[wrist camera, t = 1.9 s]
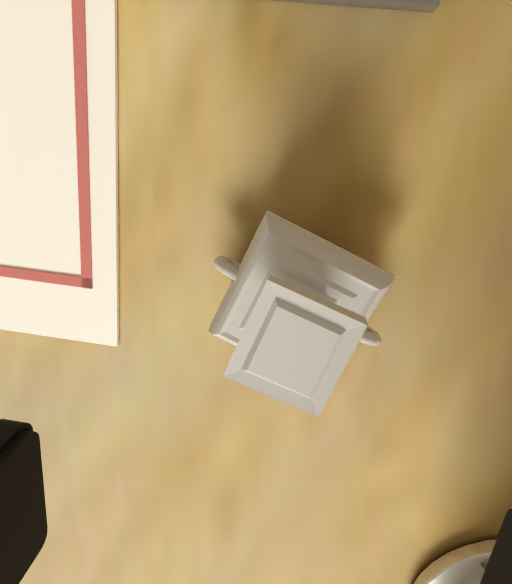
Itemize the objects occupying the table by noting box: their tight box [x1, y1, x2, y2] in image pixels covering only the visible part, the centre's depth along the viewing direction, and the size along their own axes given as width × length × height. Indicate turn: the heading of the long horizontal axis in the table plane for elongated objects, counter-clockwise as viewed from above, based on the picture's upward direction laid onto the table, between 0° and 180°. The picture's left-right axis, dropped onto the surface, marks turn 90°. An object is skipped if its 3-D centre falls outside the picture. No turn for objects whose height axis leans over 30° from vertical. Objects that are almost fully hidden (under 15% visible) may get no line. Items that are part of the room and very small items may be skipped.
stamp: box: [209, 210, 395, 417], centre depth 20 cm, size 9×7×8 cm
